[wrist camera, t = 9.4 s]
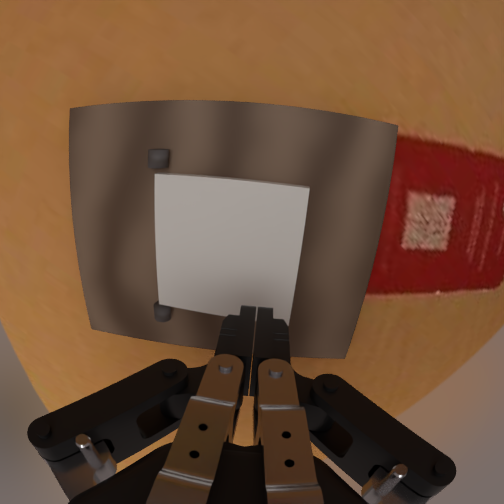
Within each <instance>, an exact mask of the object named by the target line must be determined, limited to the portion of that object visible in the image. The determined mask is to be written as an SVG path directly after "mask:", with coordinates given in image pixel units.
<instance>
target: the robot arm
mask: <svg viewBox="0 0 504 504" xmlns="http://www.w3.org/2000/svg"><path fill="white" fill-rule="evenodd" d="M255 317H256V306H246V305H241V309H240V315H231V314H229V315H228V316H227V317H226V318H225V319H224V320H223V322H222V326H221V330H220V335H219V338H218V342H217V346H216V351H215V355H214V357H213V358H211V359H210V360H209V362H208V364H206V365H204V366H201V367H196V368H187V366H186V365H185V364H184V363H183V362H181V361H179V360H176V359H164V360H161V361H159V362H157V363H155V364H153V365H151V366H149V367H147V368H145V369H143V370H141V371H139V372H137V373H135V374H133V375H131V376H129V377H127V378H125V379H123V380H121V381H119V382H117V383H114V384H112V385H110V386H108V387H106V388H104V389H102V390H100V391H98V392H95V393H93V394H91V395H89V396H87V397H85V398H82V399H80V400H78V401H76V402H74V403H71V404H69V405H67V406H65V407H62V408H60V409H58V410H56V411H53V412H51V413H49V414H46V415H44V416H42V417H40V418H37V419H35V420H34V421H33V422H32V423H31V424H30V425H29V427H28V432H27V434H28V438H29V441H30V442H31V443H32V445H33V446H34V447H35V449H36V450H37V451H38V453H39V455H40V456H41V457H42V458H43V460H44V461H45V462H46V463H47V464H48V465H49V467H50V468H51V470H52V472H53V473H54V475H55V477H56V479H57V480H58V482H59V484H60V486H61V488H62V489H63V491H64V493H65V494H66V496H67V497H68V499H69V501H70V502H69V503H68V504H425V503H426V502H427V501H429V500H430V499H432V498H433V497H434V496H435V495H437V494H438V493H439V492H440V491H441V490H443V489H444V488H445V487H446V486H447V485H449V484H450V483H451V482H452V481H453V479H454V478H455V475H456V466H455V464H454V462H453V461H452V460H451V459H450V458H449V457H448V456H446V455H445V454H443V453H442V452H440V451H439V450H438V449H436V448H435V447H434V446H432V445H431V444H429V443H428V442H426V441H425V440H424V439H422V438H421V437H419V436H418V435H417V434H415V433H414V432H412V431H411V430H410V429H408V428H407V427H406V426H404V425H403V424H402V423H400V422H399V421H397V420H396V419H395V418H393V417H392V416H391V415H389V414H388V413H387V412H385V411H384V410H383V409H381V408H380V407H379V406H377V405H376V404H375V403H373V402H372V401H371V400H369V399H368V398H367V397H365V396H364V395H363V394H362V393H360V392H359V391H358V390H356V389H355V388H354V387H352V386H351V385H350V384H349V383H347V382H346V381H345V380H343V379H342V378H341V377H339V376H337V375H333V374H322V375H319V376H317V377H316V378H315V379H314V380H313V379H310V378H306V377H303V376H301V375H299V374H298V373H296V372H295V371H294V370H293V368H292V366H291V363H290V345H289V328H288V325H287V324H286V322H285V321H284V319H274V318H273V308H269V307H258V310H257V320H256V330H255V340H254V351H253V362H252V373H251V384H250V395H249V396H254V405H253V446H245V447H244V446H239V445H236V444H233V440H234V435H235V431H236V426H237V422H238V417H239V413H240V407H241V405H242V401H243V396H248V389H249V380H250V370H251V360H252V350H253V339H254V328H255ZM177 428H178V431H177V433H176V436H175V438H174V441H173V442H172V443H168V444H166V445H163V446H161V447H159V448H157V449H155V450H154V451H152V452H150V453H149V454H147V455H146V456H144V457H143V458H141V459H139V460H138V461H136V462H135V463H133V464H131V465H130V466H128V467H126V468H125V469H123V470H121V471H120V472H118V473H116V470H117V463H119V462H121V461H123V460H125V459H126V458H128V457H130V456H132V455H134V454H135V453H137V452H139V451H141V450H142V449H144V448H146V447H148V446H149V445H151V444H153V443H154V442H156V441H158V440H159V439H161V438H163V437H164V436H166V435H168V434H169V433H171V432H173V431H174V430H176V429H177ZM310 441H311V442H312V443H313V444H314V445H315V446H316V447H317V448H318V449H320V450H321V451H322V452H323V453H324V454H325V455H326V456H327V457H328V458H329V459H331V460H332V461H333V462H334V463H335V464H336V465H337V466H338V467H339V468H341V469H342V470H343V471H344V472H345V473H346V474H348V475H349V476H350V477H351V478H352V479H353V480H354V481H356V482H357V483H358V484H359V485H360V486H362V490H361V495H362V497H361V496H360V495H359V494H358V493H357V492H356V491H355V490H353V489H352V488H351V487H350V486H349V485H348V484H347V483H346V482H345V481H344V480H343V479H341V477H339V476H338V475H337V474H336V473H335V472H334V471H333V470H332V469H331V468H330V467H329V466H328V465H327V464H326V463H324V462H323V461H322V460H320V459H319V458H317V457H315V456H313V453H312V447H311V442H310ZM115 473H116V474H115Z"/></svg>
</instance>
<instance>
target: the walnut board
mask: <svg viewBox="0 0 504 504" xmlns="http://www.w3.org/2000/svg"><path fill="white" fill-rule="evenodd" d="M397 132H398V125H394V124H390V123H385V122H381V121H376V120H372V119H367V118H362V117H357V116H352V115H346V114H341V113H335V112H329V111H322V110H315V109H308V108H301V107H293V106H284V105H274V104H263V103H250V102H234V101H208V100H167V101H141V102H125V103H113V104H102V105H93V106H85V107H77V108H70V120H69V170H70V191H71V205H72V216H73V226H74V235H75V243H76V250H77V257H78V263H79V270H80V276H81V281H82V287H83V292H84V297H85V302H86V306H87V311H88V315H89V320H90V324H91V328H92V329H94V330H99V331H103V332H108V333H113V334H118V335H123V336H128V337H133V338H139V339H144V340H150V341H156V342H162V343H168V344H175V345H182V346H189V347H196V348H204V349H212V350H216V346H217V342H218V338H219V335H220V330H221V326H222V322H223V320H224V319H225V318H226V316H220V315H214V314H208V313H203V312H197V311H192V310H187V309H181V308H176V307H171V306H166V305H161V304H159V296H158V281H157V265H156V243H155V174H156V173H159V172H161V173H179V174H194V175H207V176H219V177H230V178H241V179H251V180H260V181H269V182H278V183H286V184H294V185H301V186H309V187H310V190H309V198H308V205H307V213H306V220H305V227H304V234H303V241H302V247H301V254H300V260H299V267H298V273H297V279H296V285H295V291H294V297H293V303H292V309H291V314H290V320H289V326H288V328H289V345H290V357H308V358H337V359H345V357H346V354H347V351H348V349H349V346H350V343H351V339H352V336H353V333H354V330H355V327H356V324H357V321H358V317H359V314H360V311H361V307H362V304H363V300H364V297H365V293H366V290H367V286H368V282H369V279H370V275H371V271H372V267H373V263H374V259H375V255H376V251H377V246H378V242H379V237H380V233H381V228H382V224H383V219H384V214H385V209H386V204H387V198H388V193H389V187H390V181H391V175H392V169H393V162H394V155H395V148H396V140H397ZM255 330H256V321H255V328H254V339H253V350H252V354H253V351H254V340H255Z"/></svg>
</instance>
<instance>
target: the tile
mask: <svg viewBox="0 0 504 504" xmlns="http://www.w3.org/2000/svg"><path fill="white" fill-rule="evenodd" d="M309 190H310V187H309V186H301V185H294V184H286V183H278V182H269V181H260V180H251V179H241V178H230V177H219V176H207V175H194V174H179V173H161V172H159V173H156V174H155V243H156V265H157V281H158V296H159V304H161V305H166V306H171V307H176V308H181V309H187V310H192V311H197V312H203V313H208V314H214V315H220V316H226V317H227V316H228V315H229V314H231V315H240V309H241V305H246V306H256V317H255V321H256V320H257V310H258V307H269V308H273V318H274V319H284V321H285V322H286V324H287V325H288V326H289V320H290V314H291V309H292V303H293V297H294V291H295V285H296V279H297V273H298V267H299V260H300V254H301V247H302V241H303V234H304V227H305V220H306V213H307V205H308V198H309Z"/></svg>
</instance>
